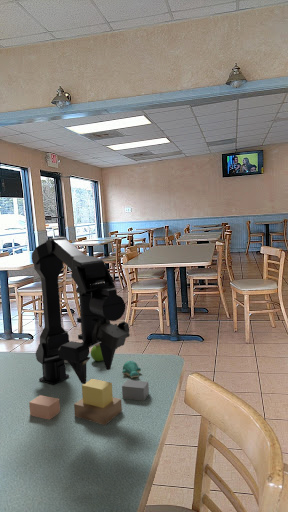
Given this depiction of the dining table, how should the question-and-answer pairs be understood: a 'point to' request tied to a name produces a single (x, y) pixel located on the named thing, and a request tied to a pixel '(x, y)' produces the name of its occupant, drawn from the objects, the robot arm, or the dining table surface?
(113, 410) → the walnut block
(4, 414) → the dining table surface
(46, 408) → the terracotta brick
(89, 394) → the mustard brick
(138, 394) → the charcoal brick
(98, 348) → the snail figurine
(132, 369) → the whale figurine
